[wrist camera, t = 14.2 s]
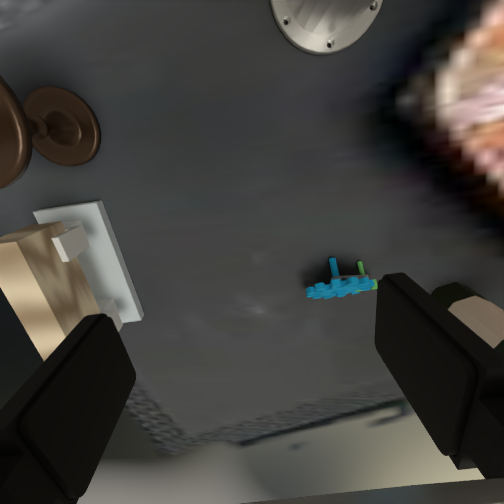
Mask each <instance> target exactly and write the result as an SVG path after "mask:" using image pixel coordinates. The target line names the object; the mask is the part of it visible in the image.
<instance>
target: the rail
mask: <svg viewBox="0 0 504 504" xmlns="http://www.w3.org/2000/svg"><path fill="white" fill-rule="evenodd" d="M63 232H65V228H64V226H63V224H62V221H59V222H51V223H44V224H36V225H29V226H27V227H24V228H22V229H19V230H17V231H15V232H12V233H10V234H7V235H5V236H2V237H0V287H1V289H2V290H3V292H4V294H5V296H6V297H7V299H8V301H9V302H10V304H11V306H12V307H13V309H14V311H15V312H16V314H17V316H18V318H19V319H20V321H21V323H22V324H23V326H24V328H25V330H26V331H27V333H28V335H29V336H30V338H31V340H32V341H33V343H34V345H35V347H36V348H37V350H38V352H39V353H40V355H41V357H42V358H43V360H44V361H45V360H46V359H47V358H48V356H49V355H50V354H51V353H52V352H53V351H54V350H55V349H56V348H57V346H58V345H59V344H60V343H61V342H62V341H63V340H64V339H65V338H66V336H67V335H68V334H69V333H70V332H71V331H72V330H73V329H74V328H75V326H76V325H77V324H78V323H79V322H80V321H81V320H82V319H83V318H84V317H85V316H87V315H93V314H100V313H101V312H100V309H99V307H98V305H97V302H96V300H95V298H94V296H93V293H92V291H91V289H90V286H89V284H88V282H87V279H86V277H85V275H84V272H83V270H82V268H81V265H80V263H79V261H78V258H77V256H76V257H75V258H73V259H72V260H70V261H68V262H62V260H61V258H60V255H59V253H58V251H57V249H56V247H55V245H54V243H53V241H52V239H51V238H53V237H55V236H57V235H59V234H61V233H63Z"/></svg>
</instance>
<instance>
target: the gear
mask: <svg viewBox="0 0 504 504" xmlns="http://www.w3.org/2000/svg"><path fill="white" fill-rule="evenodd" d="M329 262H330V267H331V272H332V278H331V280H330V281H331V283H330V284H328V285H324V283H323V282H322V283H317V284H315V287H309V288H306V294H307V297H312V298H313V299H317V298H321V297H323V298H324V299H327V298H331V297H333V296H337V297H344V296H345V294H347V293H351V294H358V293H360V292H359V291H366V290H370V289H371V290H373V289H377V288H378V286H377V282H376V280H375V279H374V280H370V279H369V276H368V275H365V273H364V269H363V265H362V261H359V262H357V265H358V269H359V273H360V275H348V276H339V272H338V267H337V263H336V258H330V259H329Z"/></svg>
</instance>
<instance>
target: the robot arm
mask: <svg viewBox="0 0 504 504" xmlns="http://www.w3.org/2000/svg"><path fill="white" fill-rule="evenodd" d="M382 2H383V0H270V3H271V7H272V11H273V15H274V17H275V20H276V22H277V24H278V27H279V28H280V30H281V31H282V33H283V34H284V36H285V37H286V38H287V39H288V40H289V41H290V42H291V43H292V44H293V45H294V46H296V47H297V48H299V49H300V50H302V51H304V52H307V53H310V54H315V55H328V54H333V53H336V52H339V51H341V50H343V49H345V48H347V47H348V46H350V45H351V44H353V43H354V42H355V41H356V40H357V39H359V38H360V36H361V35H362V34H363V33H364V32H365V31H366V30H367V29H368V28H369V26H370V25H371V23H372V22H373V21H374V19H375V17H376V15H377V13H378V12H379V10H380V7H381V5H382ZM370 7H371V8H372V11H371V10H370ZM284 21H287V22H288V25H284ZM327 44H330V48H328V47H327ZM375 346H376V349H377V351H378V353H379V355H380V356H381V358H382V360H383V361H384V363H385V364H386V366H387V368H388V369H389V371H390V372H391V374H392V376H393V377H394V379H395V380H396V382H397V384H398V385H399V387H400V388H401V390H402V392H403V393H404V395H405V396H406V398H407V400H408V401H409V403H410V404H411V406H412V408H413V409H414V411H415V412H416V414H417V416H418V417H419V419H420V420H421V422H422V423H423V425H424V427H425V428H426V430H427V431H428V433H429V435H430V436H431V438H432V440H433V441H434V443H435V444H436V446H437V447H438V449H439V450H440V452H441V453H442V454H443V455H445V456H449V457H450V458H451V460H452V461H453V463H454V464H455V466H456V468H457V469H458V470H461V469H470V468H478V469H479V471H480V472H481V474H482V475H483V476H484V478H485V479H482V480H470V481H459V482H447V483H434V484H423V485H411V486H402V487H393V488H383V489H373V490H365V491H354V492H345V493H335V494H325V495H316V496H306V497H297V498H287V499H278V500H269V501H260V502H251V503H242V504H504V357H503V356H502V355H501V354H500V353H499V352H497V351H496V350H495V349H494V348H493V347H491V346H490V345H489V344H488V343H487V342H486V341H484V340H483V339H482V338H481V337H480V336H478V335H477V334H476V333H475V332H474V331H472V330H471V329H470V328H469V327H468V326H467V325H465V324H464V323H463V322H462V321H461V320H459V319H458V318H457V317H456V316H455V315H453V314H452V313H451V312H450V311H449V310H448V309H446V308H445V307H444V306H443V305H442V304H440V303H439V302H438V301H437V300H436V299H434V298H433V297H432V296H431V295H430V294H428V293H427V292H426V291H425V290H424V289H423V288H421V287H420V286H419V285H418V284H417V283H415V282H414V281H413V280H412V279H411V278H409V277H408V276H407V275H406V274H405V273H394V274H386V275H384V276H383V278H382V279H381V280H379V281H378V288H377V306H376V324H375ZM135 380H136V372H135V369H134V367H133V365H132V363H131V360H130V358H129V356H128V353H127V351H126V349H125V346H124V344H123V342H122V340H121V337H120V335H119V333H118V330H117V328H116V326H115V323H114V321H113V319H112V318H111V317H108V316H107V315H106V314H104V313H100V314H93V315H87V316H85V317H84V318H83V319H82V320H81V321H80V322H79V323H78V324H77V325H76V326H75V328H74V329H73V330H72V331H71V332H70V333H69V334H68V335H67V336H66V338H65V339H64V340H63V341H62V342H61V343H60V344H59V345H58V346H57V348H56V349H55V350H54V351H53V352H52V353H51V354H50V355H49V356H48V358H47V359H46V360H45V361H44V362H43V363H42V364H41V365H40V367H39V368H38V369H37V370H36V371H35V372H34V373H33V375H31V377H30V378H29V379H28V380H27V381H26V382H25V383H24V384H23V385H22V387H21V388H20V389H19V390H18V391H17V392H16V393H15V395H13V397H12V398H11V399H10V400H9V401H8V402H7V403H6V404H5V405H4V407H3V408H2V409H1V410H0V504H76V503H77V501H78V499H79V497H81V496H83V495H84V493H85V492H86V490H87V488H88V486H89V484H90V482H91V479H92V477H93V475H94V473H95V470H96V468H97V466H98V464H99V461H100V459H101V457H102V454H103V453H104V450H105V448H106V446H107V444H108V441H109V439H110V437H111V435H112V433H113V430H114V428H115V426H116V424H117V421H118V419H119V417H120V415H121V412H122V410H123V408H124V406H125V404H126V401H127V399H128V397H129V395H130V392H131V390H132V388H133V386H134V383H135Z"/></svg>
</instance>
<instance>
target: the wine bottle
mask: <svg viewBox="0 0 504 504" xmlns="http://www.w3.org/2000/svg"><path fill="white" fill-rule="evenodd" d="M431 296H432V297H433V298H434V299H436V300H437V301H438V302H439V303H440V304H442V305H443V306H444V307H445V308H446V309H448V310H449V311H450V312H451V313H452V314H453V315H455V316H456V317H457V318H458V319H459V320H461V321H462V322H463V323H464V324H465V325H467V326H468V327H469V328H470V329H471V330H472V331H474V332H475V333H476V334H477V335H478V336H480V337H481V338H482V339H483V340H484V341H486V342H487V343H488V344H489V345H490V346H491V347H493V348H494V349H495V350H496V351H497V352H499V353H500V354H501V355H502V356H503V357H504V311H503V310H502V309H500V308H499V307H497V306H496V305H494V304H493V303H491V302H490V301H488V300H487V299H485V298H484V297H482V296H481V295H479V294H478V293H476V292H475V291H473V290H472V289H470V288H468V287H466V286H463V285H461V284H459V283H456V282H454V283H451V284H448V285H445V286H442V287H439V288H436V289H435V290H434V292H433V293H432V294H431Z"/></svg>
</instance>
